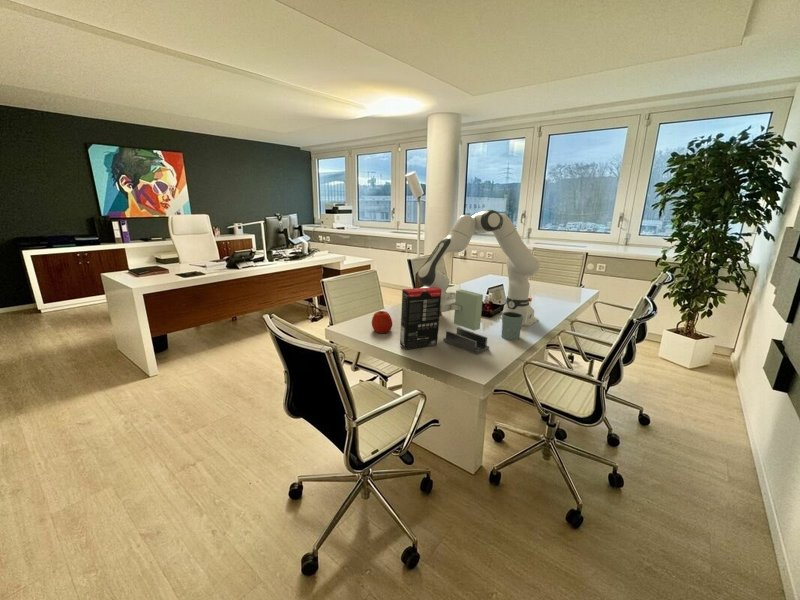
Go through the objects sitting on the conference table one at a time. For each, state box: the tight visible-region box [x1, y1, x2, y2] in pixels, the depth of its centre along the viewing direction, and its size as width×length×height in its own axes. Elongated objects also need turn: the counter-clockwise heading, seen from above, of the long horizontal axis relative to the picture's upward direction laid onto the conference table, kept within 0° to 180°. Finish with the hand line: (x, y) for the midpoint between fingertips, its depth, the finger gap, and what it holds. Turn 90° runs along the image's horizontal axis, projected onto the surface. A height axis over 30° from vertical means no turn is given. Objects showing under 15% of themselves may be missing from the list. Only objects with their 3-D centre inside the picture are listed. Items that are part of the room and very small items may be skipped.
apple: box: [371, 310, 393, 334], centre depth 175 cm, size 11×11×11 cm
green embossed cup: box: [501, 312, 523, 341], centre depth 170 cm, size 10×10×12 cm
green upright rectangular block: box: [453, 289, 484, 332], centre depth 155 cm, size 4×12×16 cm, turn 40°
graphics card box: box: [399, 287, 441, 350], centre depth 155 cm, size 17×7×27 cm, turn 114°
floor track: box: [442, 326, 490, 355], centre depth 159 cm, size 9×20×6 cm, turn 40°
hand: (465, 307), depth 156 cm, fingers closed on green upright rectangular block, 4 cm apart
